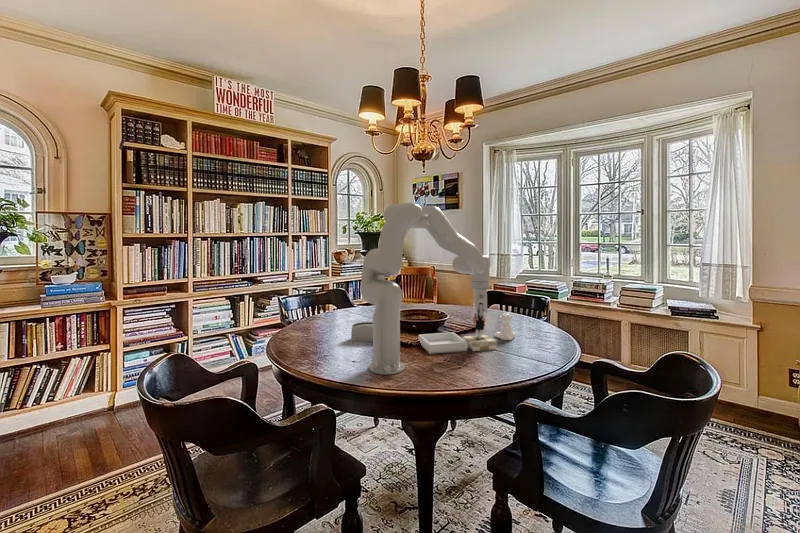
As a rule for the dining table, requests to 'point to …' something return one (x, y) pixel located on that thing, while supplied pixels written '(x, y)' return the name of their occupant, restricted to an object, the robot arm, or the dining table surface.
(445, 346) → the tray
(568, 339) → the dining table surface
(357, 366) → the dining table surface
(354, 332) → the grey arched block
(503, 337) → the white creature statuette
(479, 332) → the handwheel pin
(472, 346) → the block
